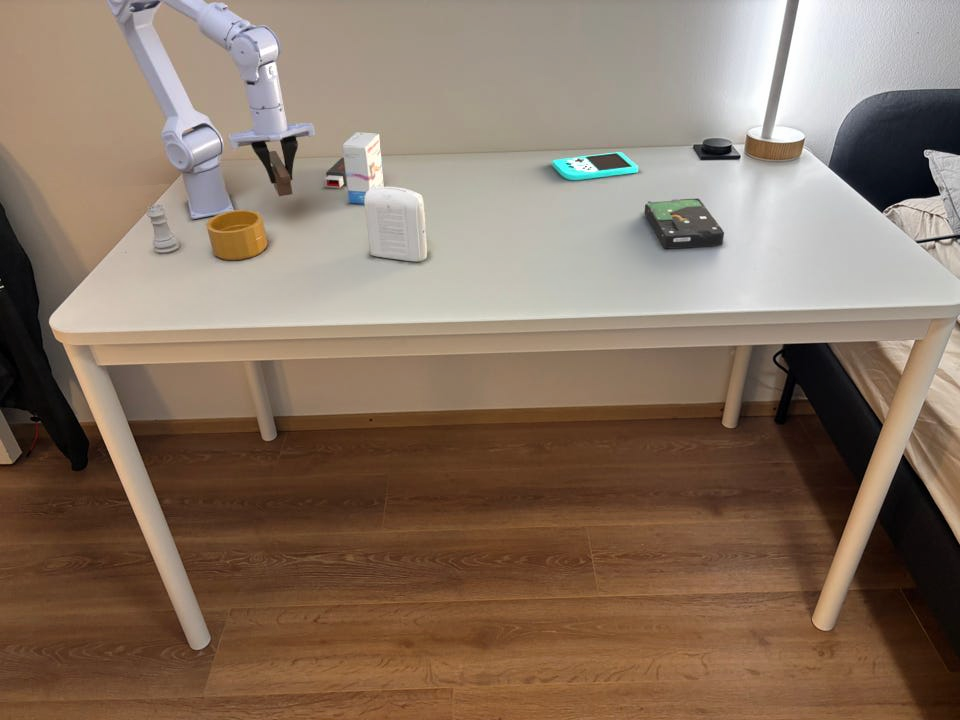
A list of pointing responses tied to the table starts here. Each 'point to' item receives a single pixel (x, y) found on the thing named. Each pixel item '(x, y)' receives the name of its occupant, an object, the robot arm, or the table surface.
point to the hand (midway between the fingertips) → (281, 180)
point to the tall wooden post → (280, 175)
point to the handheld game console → (594, 166)
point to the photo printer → (396, 223)
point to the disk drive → (683, 223)
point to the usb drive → (336, 175)
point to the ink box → (362, 165)
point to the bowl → (237, 234)
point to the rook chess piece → (162, 231)
